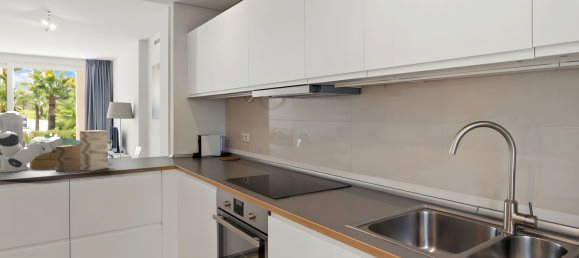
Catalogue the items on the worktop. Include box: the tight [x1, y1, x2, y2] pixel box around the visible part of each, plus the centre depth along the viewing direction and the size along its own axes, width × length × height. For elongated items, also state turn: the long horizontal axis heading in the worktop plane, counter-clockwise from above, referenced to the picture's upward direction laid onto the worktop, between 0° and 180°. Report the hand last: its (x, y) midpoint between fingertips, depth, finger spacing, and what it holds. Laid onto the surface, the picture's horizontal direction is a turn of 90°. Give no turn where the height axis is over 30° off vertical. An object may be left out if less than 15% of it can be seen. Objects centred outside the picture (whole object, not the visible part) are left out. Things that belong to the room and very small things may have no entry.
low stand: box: [54, 144, 80, 172], centre depth 227 cm, size 8×14×16 cm, turn 166°
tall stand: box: [79, 129, 109, 171], centre depth 230 cm, size 9×14×26 cm, turn 166°
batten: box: [44, 134, 80, 145], centre depth 222 cm, size 3×24×3 cm, turn 165°
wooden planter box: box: [29, 149, 56, 170], centre depth 242 cm, size 25×25×11 cm
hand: (55, 134), depth 216 cm, fingers closed on batten, 3 cm apart
